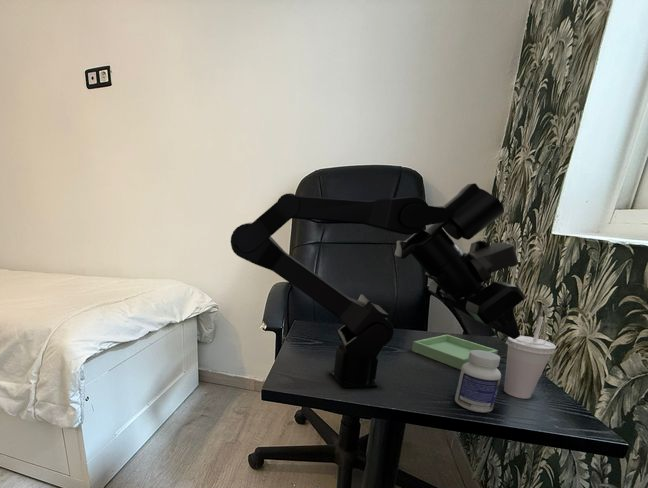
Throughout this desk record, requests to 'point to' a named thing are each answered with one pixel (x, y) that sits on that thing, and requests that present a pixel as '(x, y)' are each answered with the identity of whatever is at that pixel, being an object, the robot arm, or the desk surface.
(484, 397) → the pill bottle
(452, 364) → the tray
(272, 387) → the desk surface
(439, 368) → the desk surface
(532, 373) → the smoothie
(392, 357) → the desk surface
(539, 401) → the desk surface
